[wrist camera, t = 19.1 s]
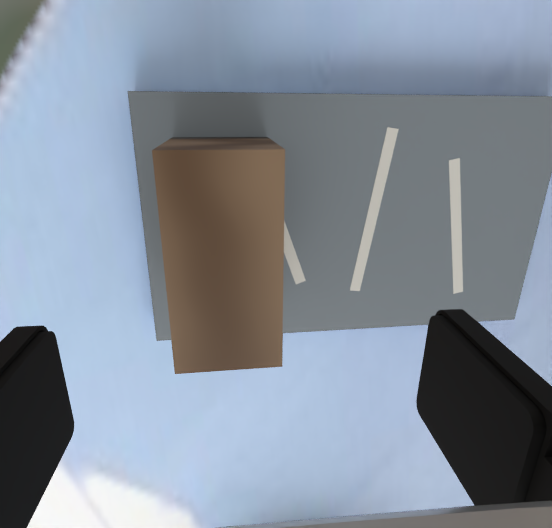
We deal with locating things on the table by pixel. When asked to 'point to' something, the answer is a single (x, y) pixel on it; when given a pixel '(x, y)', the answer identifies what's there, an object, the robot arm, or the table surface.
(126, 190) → the table surface
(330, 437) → the table surface
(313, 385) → the table surface
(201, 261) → the block
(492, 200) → the board
